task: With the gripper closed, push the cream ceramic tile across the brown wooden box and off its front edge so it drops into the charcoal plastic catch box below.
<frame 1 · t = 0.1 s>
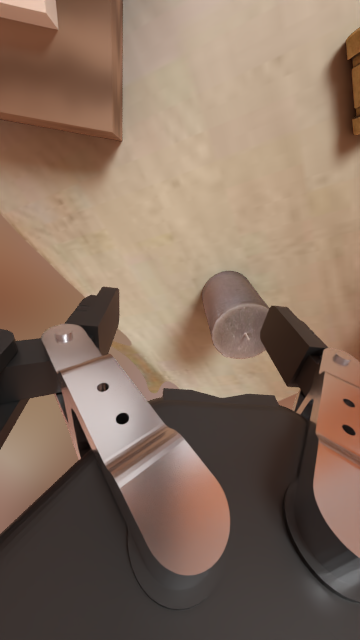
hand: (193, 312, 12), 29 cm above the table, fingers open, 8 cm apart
brown wooden box: (40, 12, 25), on the table
pillar candle: (225, 293, 44), on the table
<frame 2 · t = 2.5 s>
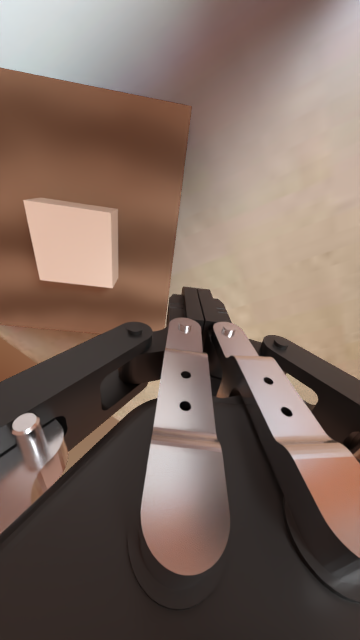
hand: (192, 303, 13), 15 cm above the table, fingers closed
brown wooden box: (92, 227, 24), on the table
tile: (83, 241, 19), point 6 cm above the table, touching brown wooden box
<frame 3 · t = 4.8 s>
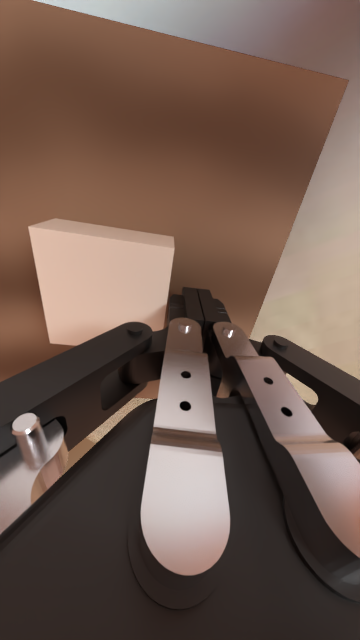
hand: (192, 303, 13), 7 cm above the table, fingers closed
brown wooden box: (133, 255, 18), on the table
tile: (115, 281, 13), point 6 cm above the table, touching brown wooden box, gripper
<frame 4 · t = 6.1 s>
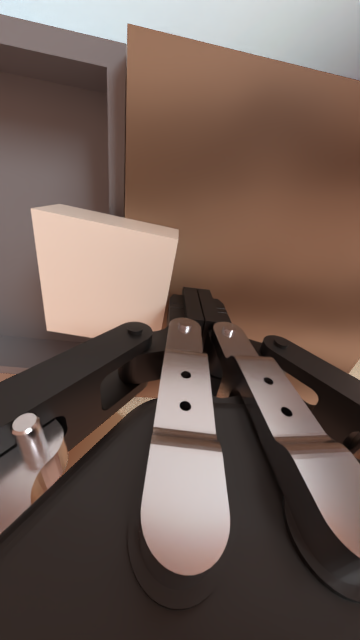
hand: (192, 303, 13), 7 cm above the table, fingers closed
brown wooden box: (241, 269, 19), on the table
catch box: (34, 241, 17), on the table
tile: (117, 272, 13), point 6 cm above the table, touching brown wooden box, gripper
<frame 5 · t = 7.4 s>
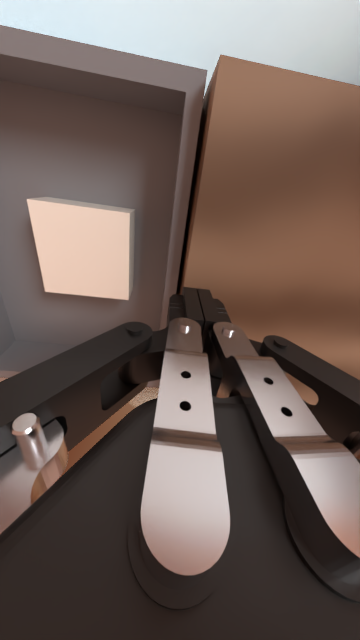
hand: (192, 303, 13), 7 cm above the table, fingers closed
brown wooden box: (280, 276, 20), on the table
catch box: (82, 252, 18), on the table
tile: (83, 255, 15), point 3 cm above the table, tilted 180°, touching catch box
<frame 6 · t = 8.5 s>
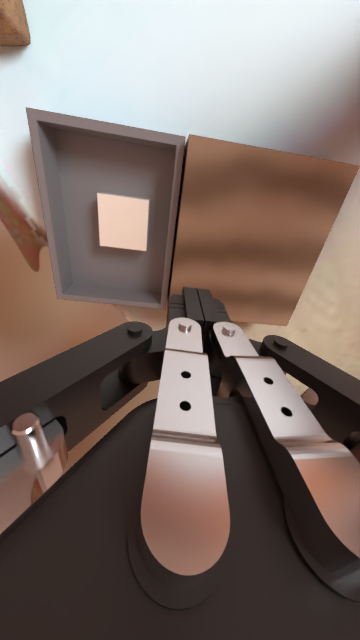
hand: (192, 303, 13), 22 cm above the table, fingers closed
brown wooden box: (236, 241, 32), on the table
catch box: (118, 225, 30), on the table
tile: (123, 224, 28), point 3 cm above the table, tilted 180°, touching catch box
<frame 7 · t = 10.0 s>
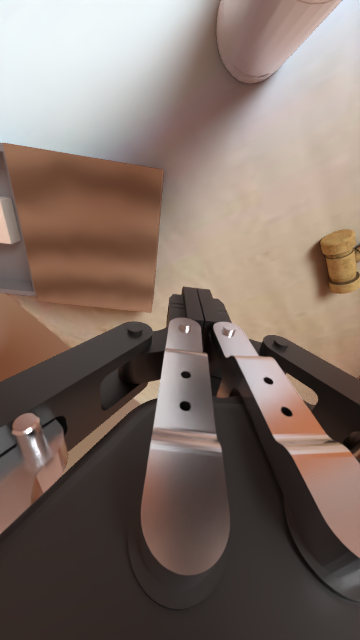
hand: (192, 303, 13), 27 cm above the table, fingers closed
brown wooden box: (102, 235, 36), on the table
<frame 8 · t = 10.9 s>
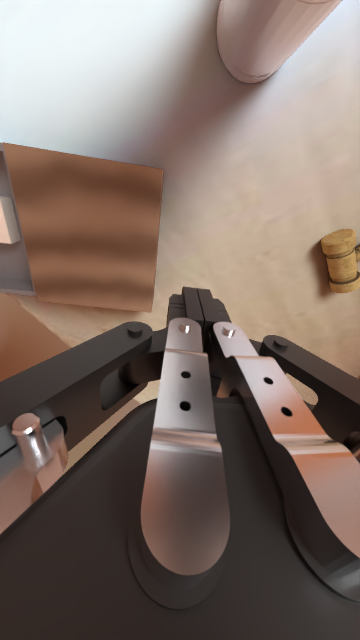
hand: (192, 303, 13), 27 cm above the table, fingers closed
brown wooden box: (102, 235, 36), on the table
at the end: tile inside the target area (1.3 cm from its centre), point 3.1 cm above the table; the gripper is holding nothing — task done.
